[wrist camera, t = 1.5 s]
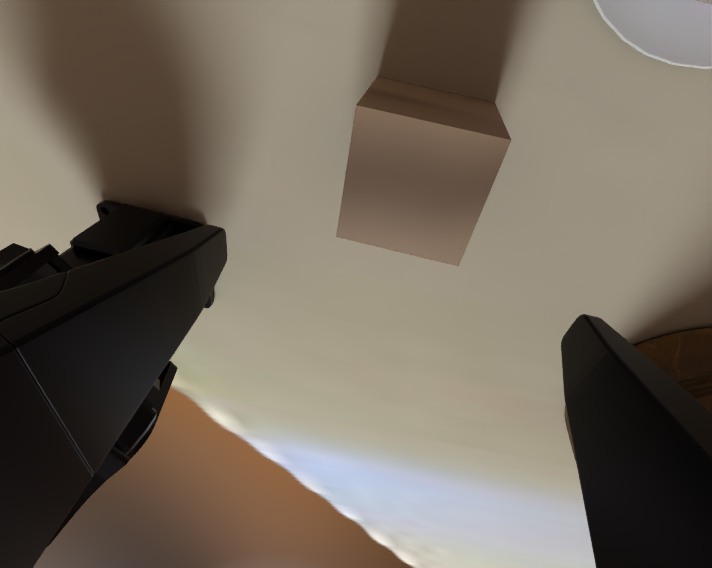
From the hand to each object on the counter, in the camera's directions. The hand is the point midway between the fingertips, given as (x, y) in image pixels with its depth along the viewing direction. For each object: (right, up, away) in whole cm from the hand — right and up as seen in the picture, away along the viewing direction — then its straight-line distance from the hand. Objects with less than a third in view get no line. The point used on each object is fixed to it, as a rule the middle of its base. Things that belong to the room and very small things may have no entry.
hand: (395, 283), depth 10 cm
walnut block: (+2, +6, +8) cm, 10 cm away
